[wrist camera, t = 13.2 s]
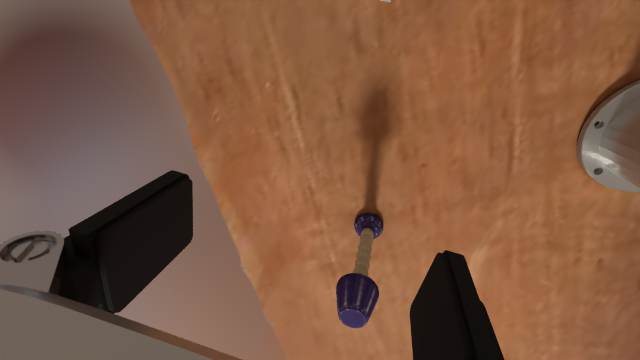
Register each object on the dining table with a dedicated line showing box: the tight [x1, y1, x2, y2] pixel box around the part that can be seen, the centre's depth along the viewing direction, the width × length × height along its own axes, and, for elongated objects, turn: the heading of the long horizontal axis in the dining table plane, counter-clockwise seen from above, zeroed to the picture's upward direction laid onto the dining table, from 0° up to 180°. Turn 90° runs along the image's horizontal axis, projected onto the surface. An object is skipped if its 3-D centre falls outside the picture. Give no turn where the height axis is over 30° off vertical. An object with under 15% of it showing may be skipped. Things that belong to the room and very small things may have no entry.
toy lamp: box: [336, 213, 383, 328], centre depth 36 cm, size 5×5×17 cm
